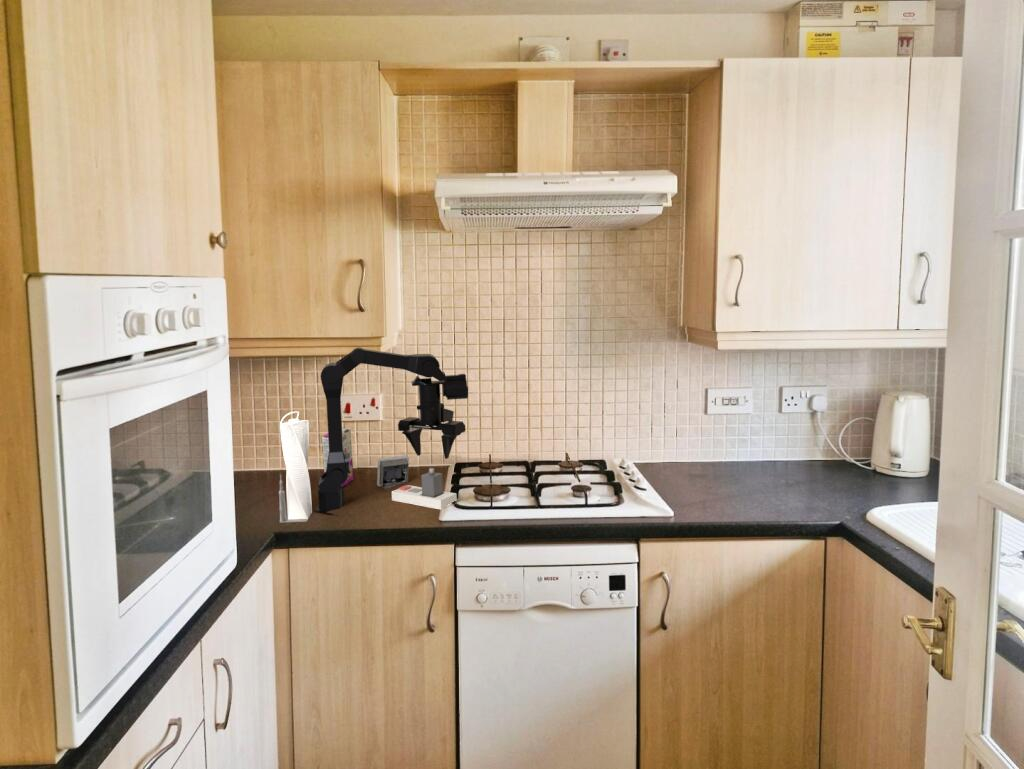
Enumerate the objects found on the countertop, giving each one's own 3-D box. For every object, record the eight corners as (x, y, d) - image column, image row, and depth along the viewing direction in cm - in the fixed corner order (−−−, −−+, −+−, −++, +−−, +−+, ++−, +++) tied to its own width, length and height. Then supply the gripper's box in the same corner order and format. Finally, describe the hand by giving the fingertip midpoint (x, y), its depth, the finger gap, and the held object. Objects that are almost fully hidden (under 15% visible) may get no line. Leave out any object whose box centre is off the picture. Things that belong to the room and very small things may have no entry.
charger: (434, 505, 201) (432, 471, 200) (422, 503, 203) (421, 469, 202) (443, 501, 205) (442, 467, 203) (431, 499, 207) (430, 466, 205)
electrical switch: (407, 482, 228) (406, 453, 226) (411, 488, 224) (411, 458, 222) (376, 486, 225) (376, 456, 222) (380, 492, 220) (380, 462, 218)
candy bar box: (338, 479, 233) (336, 427, 230) (354, 479, 232) (351, 428, 229) (323, 489, 222) (320, 435, 219) (339, 490, 221) (336, 436, 218)
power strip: (441, 513, 198) (440, 498, 198) (392, 503, 207) (391, 489, 207) (456, 505, 204) (456, 491, 204) (408, 496, 213) (407, 482, 213)
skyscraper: (286, 513, 202) (280, 411, 197) (317, 512, 202) (311, 410, 198) (279, 523, 193) (272, 417, 189) (311, 522, 194) (304, 416, 190)
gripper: (474, 397, 205) (477, 453, 208) (419, 394, 214) (421, 447, 217) (452, 404, 196) (455, 462, 198) (395, 400, 205) (398, 456, 207)
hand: (432, 456), depth 205 cm, fingers open, 9 cm apart
